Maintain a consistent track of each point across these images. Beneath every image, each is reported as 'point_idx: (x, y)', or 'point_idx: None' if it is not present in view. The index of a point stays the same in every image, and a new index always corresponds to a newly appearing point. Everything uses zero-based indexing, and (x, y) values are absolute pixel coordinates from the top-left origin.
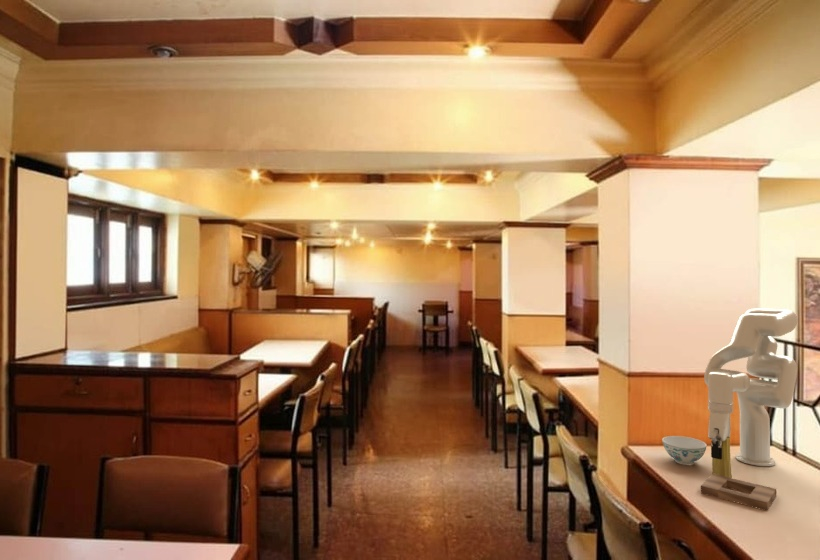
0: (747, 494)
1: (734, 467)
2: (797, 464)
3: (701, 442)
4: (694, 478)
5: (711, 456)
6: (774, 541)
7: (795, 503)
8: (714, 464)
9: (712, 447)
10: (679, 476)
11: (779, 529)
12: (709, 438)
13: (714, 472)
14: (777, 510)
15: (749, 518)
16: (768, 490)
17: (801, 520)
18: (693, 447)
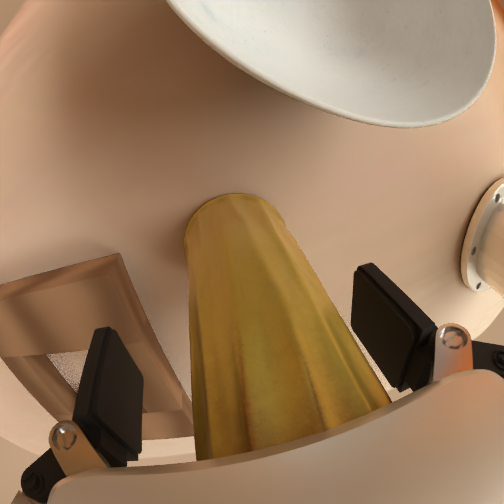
0: (66, 412)
1: (410, 219)
2: (496, 305)
3: (480, 68)
4: (65, 180)
5: (96, 332)
6: (7, 430)
7: None
8: (189, 261)
9: (81, 411)
10: (27, 122)
11: (41, 435)
12: (60, 482)
13: (193, 232)
14: None
15: (15, 405)
16: (161, 431)
17: None
18: (438, 20)
